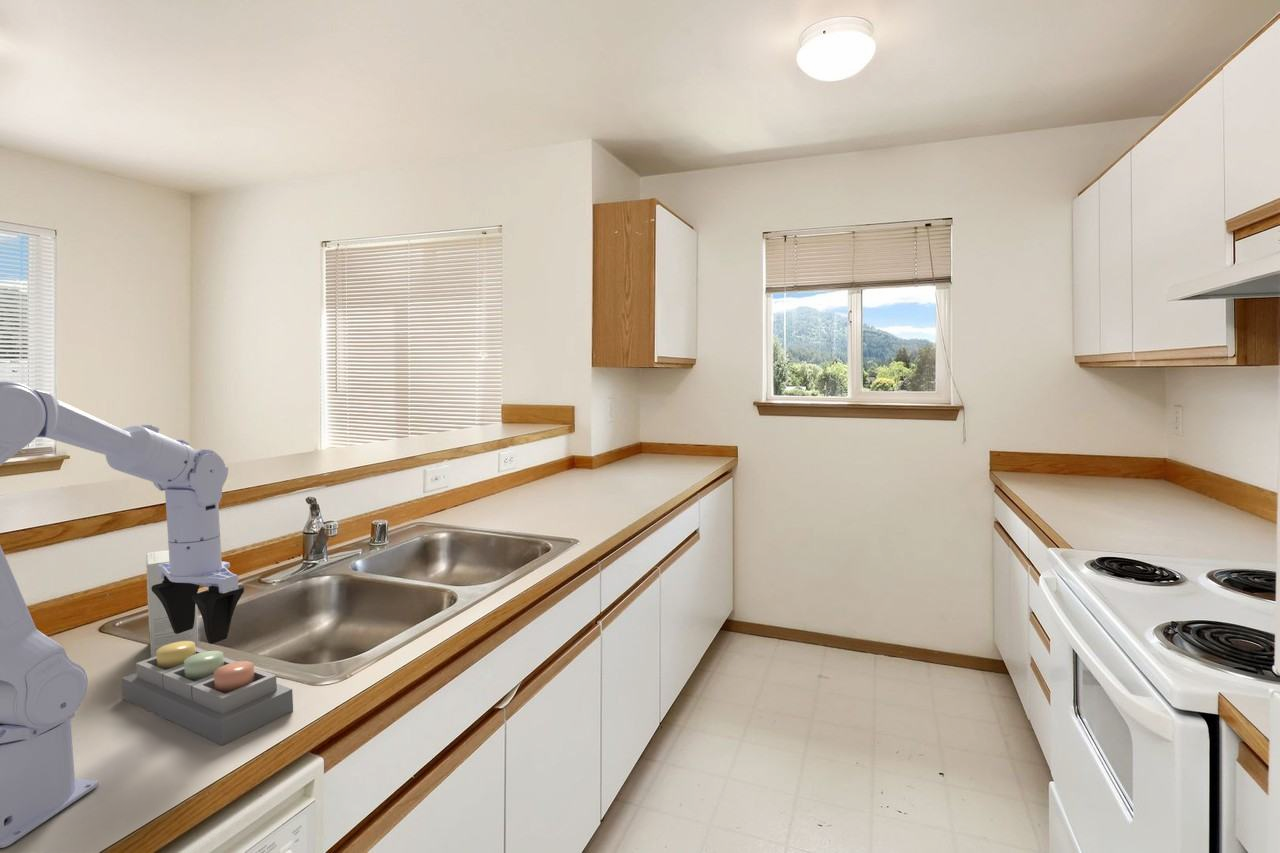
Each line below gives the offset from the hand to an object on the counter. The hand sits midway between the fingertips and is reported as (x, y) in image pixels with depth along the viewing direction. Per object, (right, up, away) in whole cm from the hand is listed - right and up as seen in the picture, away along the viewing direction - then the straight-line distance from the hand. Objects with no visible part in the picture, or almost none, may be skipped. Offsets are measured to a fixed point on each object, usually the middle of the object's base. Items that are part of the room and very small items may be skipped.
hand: (200, 635), depth 85 cm
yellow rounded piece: (-6, -5, +3) cm, 8 cm away
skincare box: (-18, -8, +19) cm, 27 cm away
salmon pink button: (+7, -5, -3) cm, 9 cm away
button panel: (+1, -9, 0) cm, 9 cm away
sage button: (+1, -5, 0) cm, 5 cm away
